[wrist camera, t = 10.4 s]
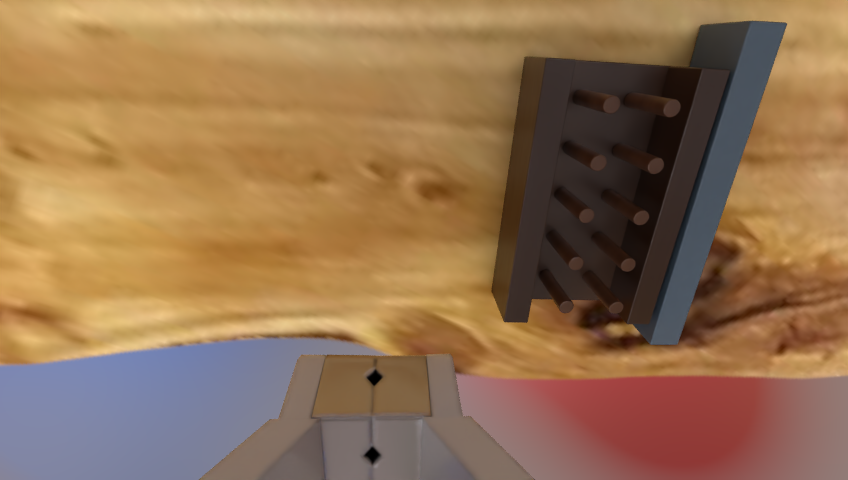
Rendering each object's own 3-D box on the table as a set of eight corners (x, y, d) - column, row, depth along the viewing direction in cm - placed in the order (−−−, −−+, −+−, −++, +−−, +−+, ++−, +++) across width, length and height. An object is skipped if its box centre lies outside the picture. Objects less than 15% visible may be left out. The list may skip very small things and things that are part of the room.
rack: (491, 291, 32) (508, 333, 27) (524, 56, 25) (554, 57, 21) (621, 294, 33) (659, 335, 28) (684, 67, 26) (748, 70, 21)
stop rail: (622, 312, 33) (650, 345, 30) (700, 24, 25) (751, 20, 22) (646, 312, 33) (677, 345, 30) (731, 26, 25) (788, 22, 22)
